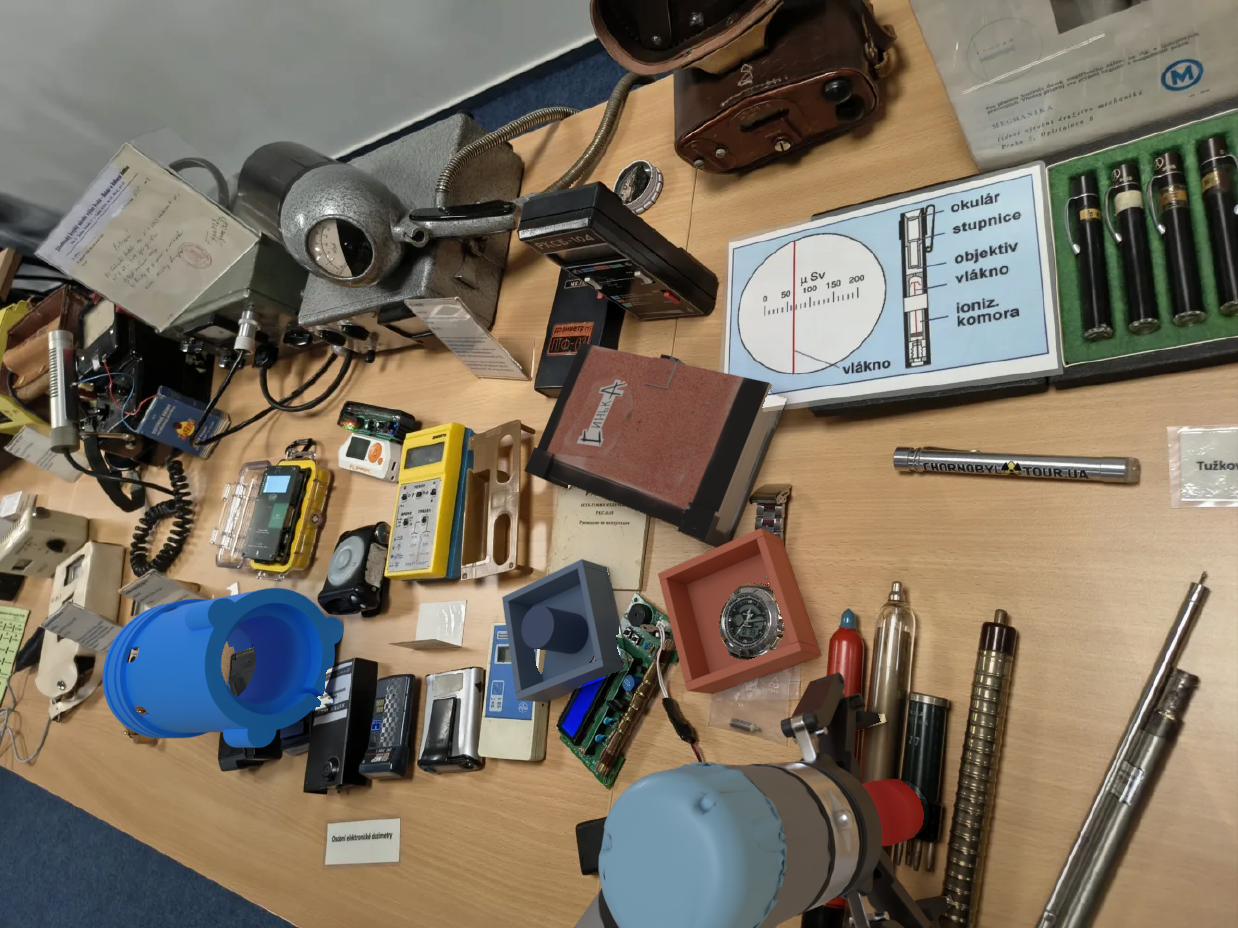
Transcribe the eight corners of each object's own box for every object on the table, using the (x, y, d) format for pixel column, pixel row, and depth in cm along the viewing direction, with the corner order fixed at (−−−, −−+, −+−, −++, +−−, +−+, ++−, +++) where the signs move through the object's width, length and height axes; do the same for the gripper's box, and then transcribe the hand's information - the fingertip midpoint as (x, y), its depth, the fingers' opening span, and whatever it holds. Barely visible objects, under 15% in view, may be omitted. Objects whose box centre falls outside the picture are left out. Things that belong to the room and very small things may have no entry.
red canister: (939, 831, 59) (919, 838, 54) (885, 843, 61) (862, 851, 56) (917, 772, 61) (896, 774, 56) (865, 785, 63) (841, 788, 58)
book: (790, 392, 77) (770, 374, 74) (727, 551, 76) (704, 541, 72) (604, 352, 94) (580, 335, 90) (551, 482, 93) (524, 471, 89)
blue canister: (592, 646, 81) (556, 640, 77) (560, 659, 83) (524, 654, 78) (584, 607, 83) (549, 599, 79) (554, 621, 85) (518, 613, 81)
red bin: (821, 655, 68) (801, 650, 64) (711, 694, 73) (686, 691, 69) (782, 538, 73) (761, 527, 70) (682, 581, 78) (657, 573, 74)
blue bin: (630, 669, 79) (603, 665, 75) (545, 702, 84) (516, 700, 80) (607, 567, 84) (581, 558, 80) (529, 603, 89) (501, 596, 85)
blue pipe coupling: (269, 658, 123) (187, 770, 110) (165, 570, 113) (60, 681, 99) (368, 647, 110) (289, 772, 97) (260, 546, 100) (155, 670, 86)
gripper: (950, 1092, 37) (1020, 984, 53) (790, 606, 48) (888, 642, 65) (810, 1102, 40) (917, 997, 56) (691, 645, 51) (808, 669, 68)
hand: (901, 807), depth 60 cm, fingers open, 13 cm apart
